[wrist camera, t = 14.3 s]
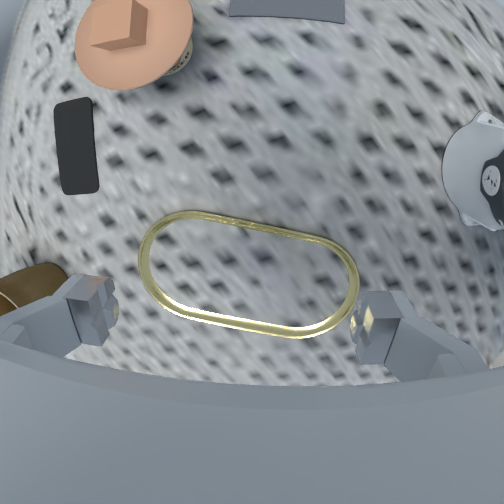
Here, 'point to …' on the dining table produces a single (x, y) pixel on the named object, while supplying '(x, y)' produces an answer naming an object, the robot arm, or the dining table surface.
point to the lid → (132, 40)
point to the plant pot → (29, 286)
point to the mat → (291, 9)
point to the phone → (76, 146)
